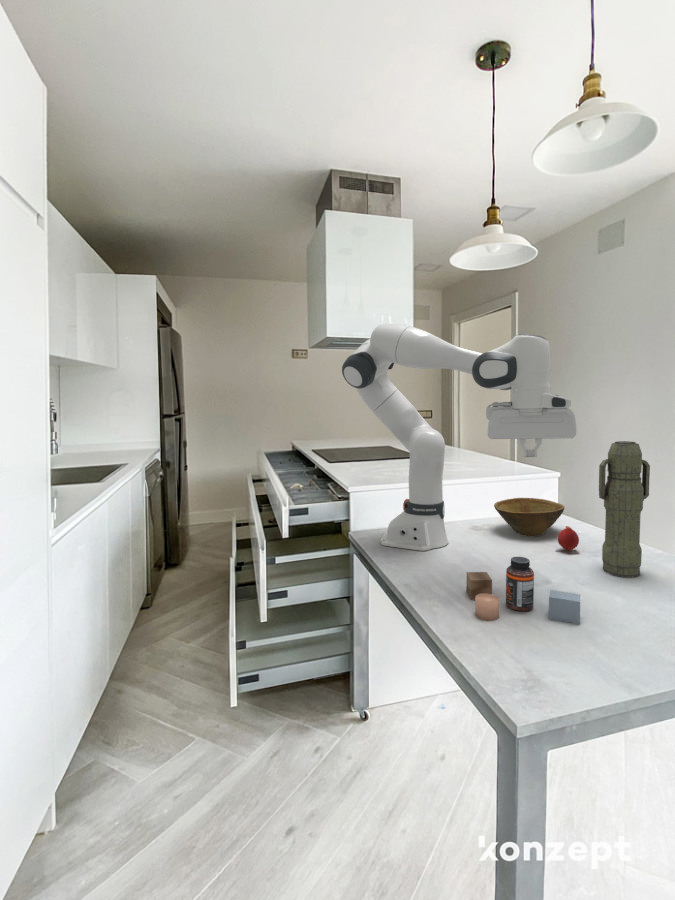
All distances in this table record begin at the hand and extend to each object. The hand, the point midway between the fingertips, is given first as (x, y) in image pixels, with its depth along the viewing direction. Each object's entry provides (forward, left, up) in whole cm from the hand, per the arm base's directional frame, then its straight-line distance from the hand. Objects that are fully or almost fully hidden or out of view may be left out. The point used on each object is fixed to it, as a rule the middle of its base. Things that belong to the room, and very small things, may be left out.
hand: (530, 456), depth 113 cm
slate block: (+6, -17, -33) cm, 38 cm away
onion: (+13, +28, -33) cm, 45 cm away
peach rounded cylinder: (-10, -20, -33) cm, 40 cm away
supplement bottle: (-3, -14, -33) cm, 36 cm away
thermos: (+24, +14, -33) cm, 43 cm away
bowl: (+3, +46, -33) cm, 57 cm away
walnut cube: (-12, -10, -33) cm, 37 cm away
